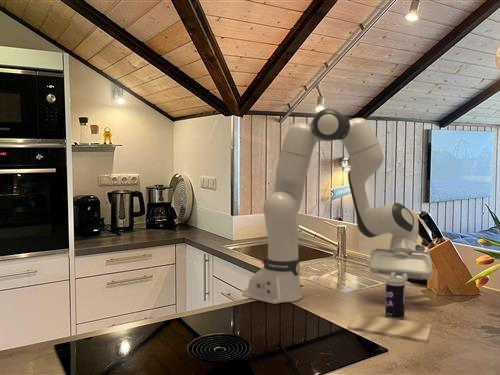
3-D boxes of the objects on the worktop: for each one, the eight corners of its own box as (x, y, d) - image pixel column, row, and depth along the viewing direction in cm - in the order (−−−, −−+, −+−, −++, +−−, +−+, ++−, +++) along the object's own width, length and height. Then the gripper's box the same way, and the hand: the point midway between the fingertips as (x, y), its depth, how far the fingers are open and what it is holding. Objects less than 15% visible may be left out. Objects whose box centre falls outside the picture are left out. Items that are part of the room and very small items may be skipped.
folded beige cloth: (347, 329, 128) (347, 326, 128) (357, 315, 138) (357, 313, 138) (427, 342, 117) (427, 339, 117) (431, 327, 128) (431, 324, 128)
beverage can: (389, 312, 141) (389, 276, 140) (407, 316, 137) (407, 279, 136) (382, 317, 136) (382, 280, 135) (400, 321, 133) (400, 283, 132)
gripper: (370, 243, 152) (364, 277, 144) (433, 248, 143) (430, 285, 135) (373, 253, 156) (367, 286, 148) (434, 258, 147) (431, 294, 139)
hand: (397, 286), depth 141 cm, fingers closed
